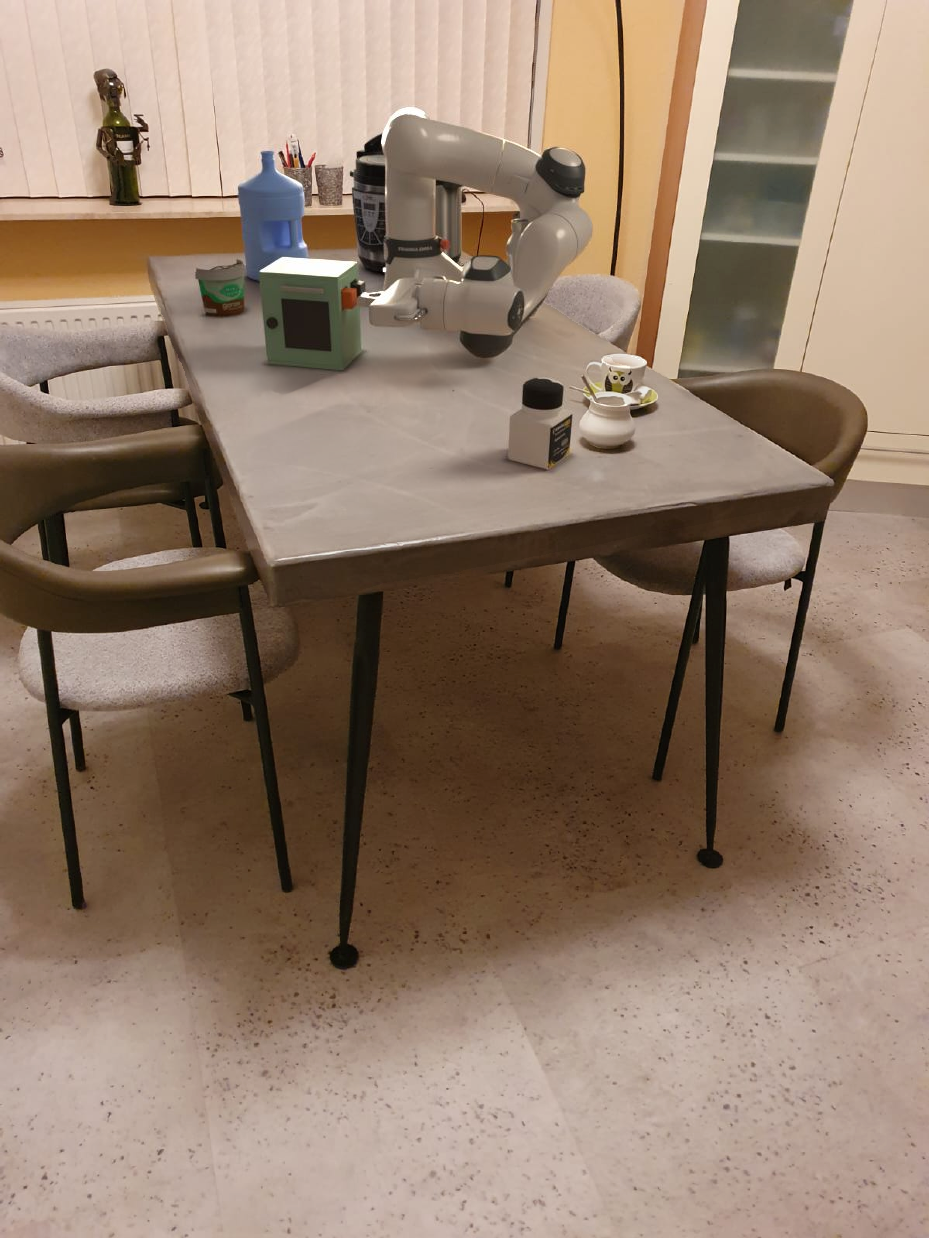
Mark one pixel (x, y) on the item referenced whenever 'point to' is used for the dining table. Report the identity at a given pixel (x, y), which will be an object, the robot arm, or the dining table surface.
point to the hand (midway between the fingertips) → (359, 299)
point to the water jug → (271, 217)
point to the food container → (222, 289)
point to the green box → (309, 313)
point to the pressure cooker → (372, 208)
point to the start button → (349, 298)
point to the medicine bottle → (540, 425)
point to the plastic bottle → (515, 242)
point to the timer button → (358, 287)
